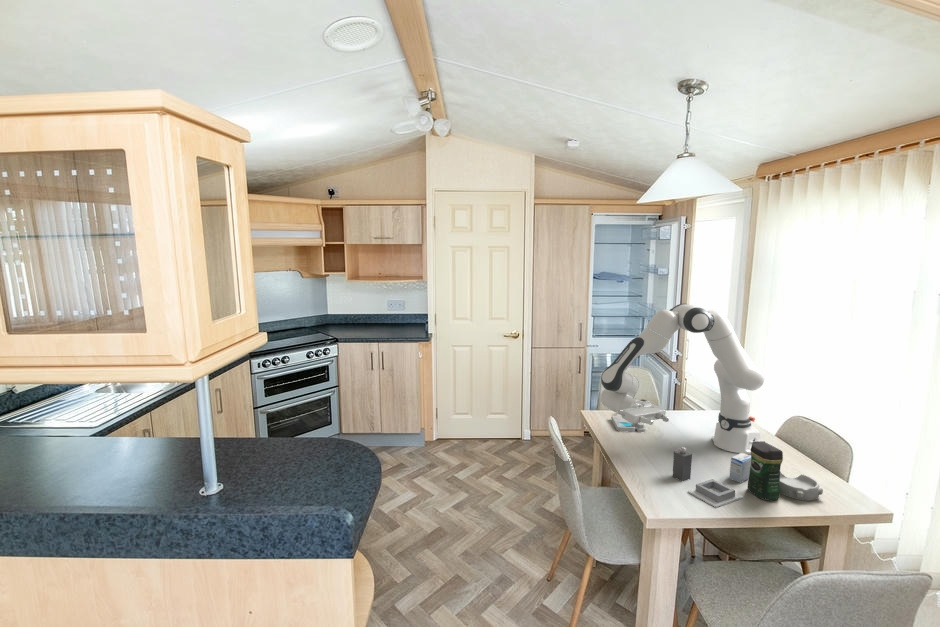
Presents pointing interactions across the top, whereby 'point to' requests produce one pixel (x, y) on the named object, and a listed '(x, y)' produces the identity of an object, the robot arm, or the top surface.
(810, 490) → the dish
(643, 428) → the intercom
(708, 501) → the socket plate
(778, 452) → the coffee jar
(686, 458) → the plug
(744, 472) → the medicine box
